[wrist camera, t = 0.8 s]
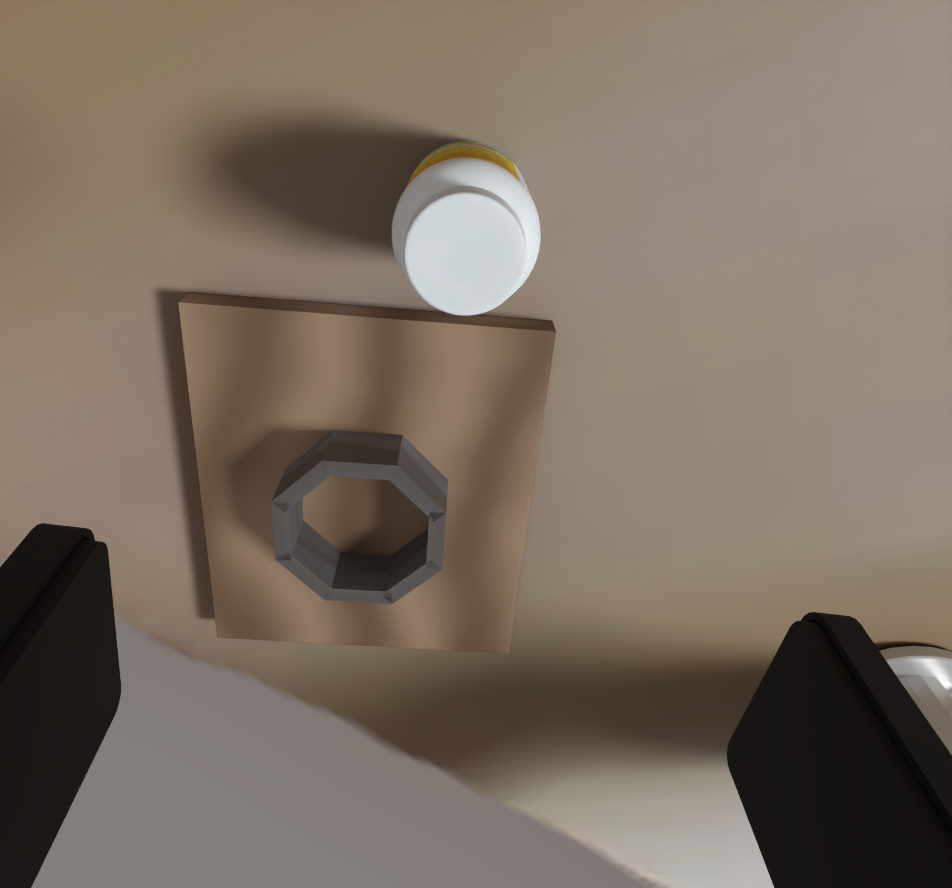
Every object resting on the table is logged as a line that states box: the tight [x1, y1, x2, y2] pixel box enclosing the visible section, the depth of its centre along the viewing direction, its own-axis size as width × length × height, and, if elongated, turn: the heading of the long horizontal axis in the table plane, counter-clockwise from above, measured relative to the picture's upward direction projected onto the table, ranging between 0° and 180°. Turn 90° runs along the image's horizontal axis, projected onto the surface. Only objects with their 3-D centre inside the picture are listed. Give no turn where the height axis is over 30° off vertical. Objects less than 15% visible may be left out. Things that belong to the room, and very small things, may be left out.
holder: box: [178, 293, 556, 653], centre depth 36 cm, size 17×20×4 cm
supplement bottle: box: [392, 141, 541, 316], centre depth 27 cm, size 5×5×10 cm
